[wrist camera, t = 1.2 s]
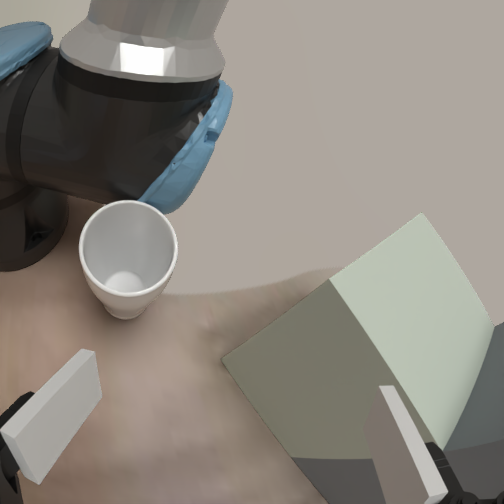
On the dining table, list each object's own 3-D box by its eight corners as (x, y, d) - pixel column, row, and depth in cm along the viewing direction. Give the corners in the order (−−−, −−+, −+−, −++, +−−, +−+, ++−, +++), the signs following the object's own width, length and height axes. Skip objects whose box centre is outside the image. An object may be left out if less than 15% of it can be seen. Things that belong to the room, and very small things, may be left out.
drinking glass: (116, 339, 30) (110, 318, 17) (83, 284, 30) (60, 226, 18) (167, 306, 33) (199, 263, 20) (135, 254, 34) (147, 183, 21)
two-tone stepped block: (349, 525, 26) (588, 519, 3) (220, 359, 33) (463, 161, 10) (413, 445, 36) (603, 385, 12) (314, 298, 42) (493, 145, 19)
